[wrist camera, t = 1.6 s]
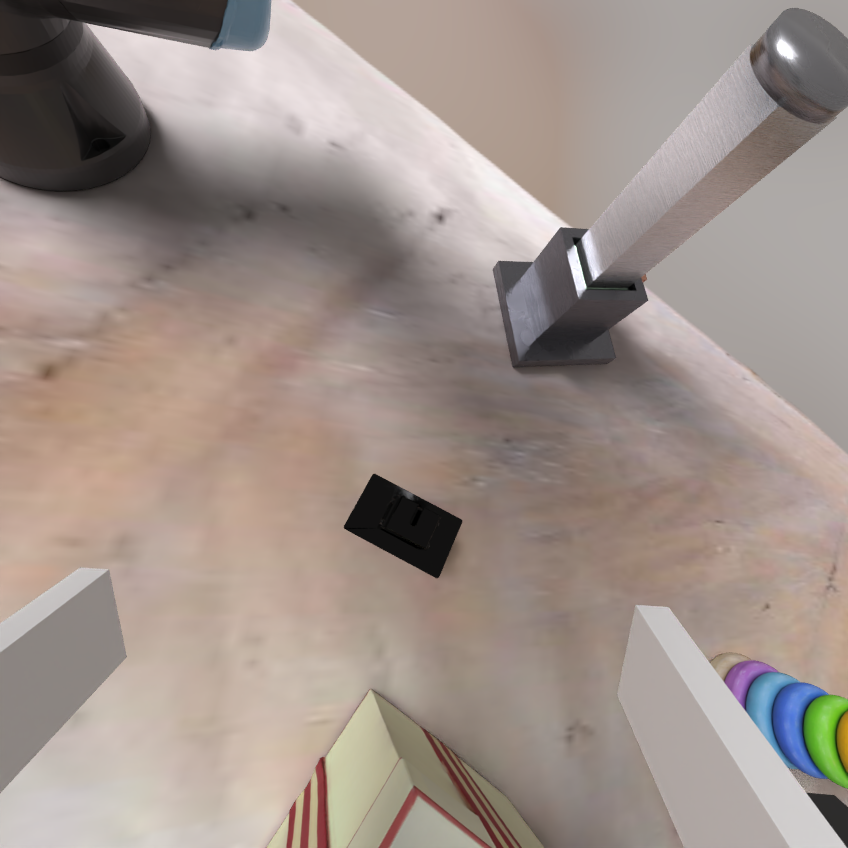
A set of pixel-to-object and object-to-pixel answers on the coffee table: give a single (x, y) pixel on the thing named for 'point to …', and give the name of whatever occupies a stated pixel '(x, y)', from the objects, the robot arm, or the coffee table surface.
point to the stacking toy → (791, 716)
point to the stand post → (722, 147)
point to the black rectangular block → (404, 525)
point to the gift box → (398, 793)
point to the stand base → (560, 307)
